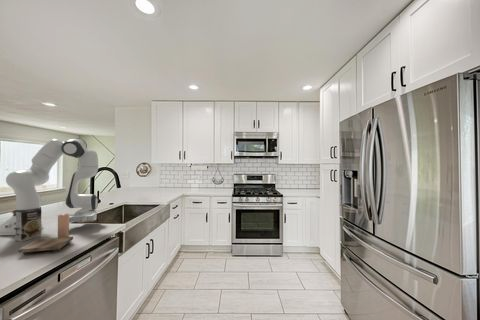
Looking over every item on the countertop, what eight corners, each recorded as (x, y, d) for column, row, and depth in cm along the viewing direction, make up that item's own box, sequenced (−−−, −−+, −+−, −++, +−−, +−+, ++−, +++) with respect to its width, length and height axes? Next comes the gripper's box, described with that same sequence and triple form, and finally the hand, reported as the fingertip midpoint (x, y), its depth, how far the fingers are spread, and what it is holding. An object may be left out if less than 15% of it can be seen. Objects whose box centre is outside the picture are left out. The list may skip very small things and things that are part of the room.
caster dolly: (18, 257, 99) (18, 249, 99) (37, 245, 113) (37, 239, 113) (59, 253, 104) (59, 245, 104) (73, 242, 117) (73, 236, 117)
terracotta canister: (55, 241, 120) (55, 216, 120) (60, 238, 124) (60, 213, 125) (66, 240, 121) (66, 215, 121) (70, 237, 126) (70, 213, 126)
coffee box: (21, 241, 119) (22, 212, 119) (14, 240, 121) (15, 211, 121) (41, 236, 127) (42, 209, 127) (35, 235, 129) (35, 208, 130)
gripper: (64, 212, 143) (52, 217, 130) (98, 210, 149) (91, 215, 136) (63, 221, 143) (52, 227, 130) (98, 219, 149) (91, 225, 136)
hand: (72, 221), depth 133 cm, fingers open, 8 cm apart
